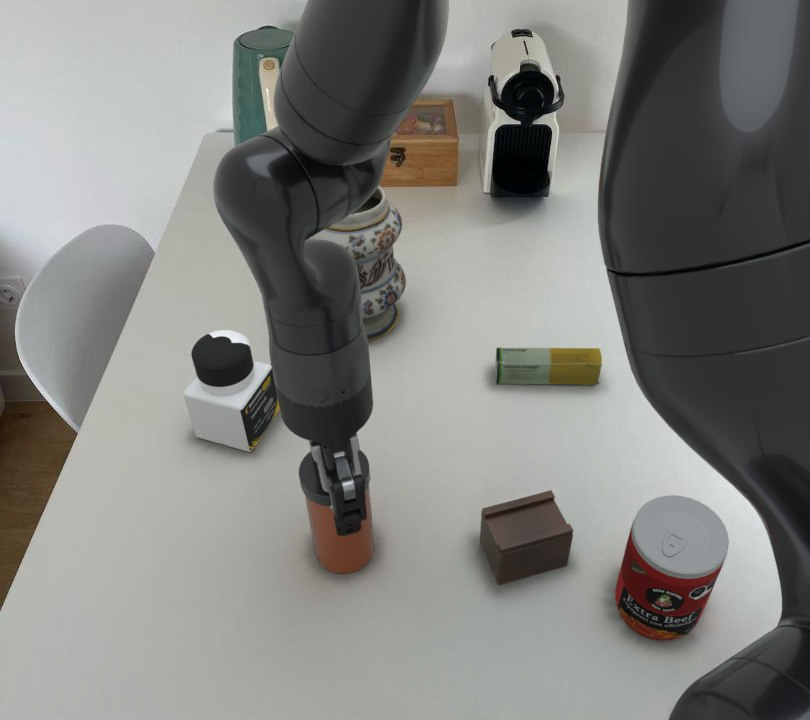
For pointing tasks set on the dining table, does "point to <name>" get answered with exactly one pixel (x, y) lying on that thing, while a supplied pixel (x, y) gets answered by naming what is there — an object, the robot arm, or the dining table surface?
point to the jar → (329, 546)
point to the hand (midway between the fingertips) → (340, 500)
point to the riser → (525, 537)
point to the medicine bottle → (230, 391)
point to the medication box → (548, 365)
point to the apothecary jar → (373, 259)
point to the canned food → (670, 566)
